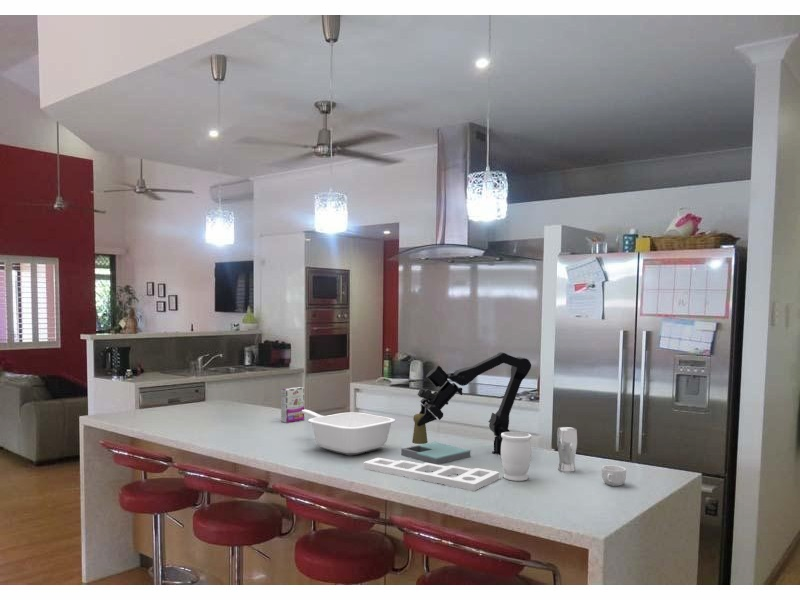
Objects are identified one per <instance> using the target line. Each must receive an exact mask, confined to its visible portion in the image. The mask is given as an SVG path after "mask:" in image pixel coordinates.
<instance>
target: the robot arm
mask: <svg viewBox="0 0 800 600" xmlns="http://www.w3.org/2000/svg"><path fill="white" fill-rule="evenodd" d="M502 364H506V365H508V366H510V367H511V368H510V379H509V381H508V384H507V386H506V390H505V392H504V394H503V398H502V400H501V403H500V405H499V407H498V410H497V411H496V413H494V412H491V415H490V418H489V420H488V421H487V422H488V423H489V424H488V426H489V430H490V431H491V432H492V433H493V435H494V440H493V450H492V451H491V454H495V453H496V454H495V455H499V454H500V456H501V443H502V439H503V438H502V437H501V433H503V432H511V431H510V429H509V425H510V414H511V411H512V408H513V405H514V403H515V400H516V397H517V394H518V391H519V389H520V387H521V384H522V381H523V380H524V379H525V378H526V377H527V376H528V374H529V372H530V370H531V369H532V364H531V361H530V360H529V359H528V358H525V357H521V356H518V357H515V356H512V355H510V354H508V353H506V352H500V351H499V352H497V354H495V355H493V356H491V357H489V358H487V359H485V360H482V361H481V362H478V363H476V364H474V365H472V366H466V367H462V368H459V369H456V370H454V371H453V372H452V373H451V372H450V373H447V372H446V371H444V370H443V368H442V367H441V366H440V365H437V366H435V367H434V368H432V369H431V370H430V371H429V372H428V373H427V374H426V375H425V378H427V379H428V380H429V382H430V383H432V385H433V386H434V387H436V388H438V387H439V389H438V391H436V390H435V391H434V392H432V390H431V389H429V388H422V387H420V388H419V390H418V392H417V396H418V397H420V398H422V399H421V400H420V401H419V402H420V411H419V413H418V414H424V415H423V416H422V418H421V419H420V420H419V422H418V423H417V425H418V426H421V425H424V424H425V425H426V424H428V423H430V422H433V421H436V420H441V419H443V417H444V412H443V411H442V409H443V408H444V407H445V406H447V405H449V402H450V400H451V399H452V398H453V397H455V395H456V394H457V393H458V395H460V396H463V387H464V386H467V385H468V384H469V383H471V382H472V381H474V380H475V379H476V378H477V377H478V376H480V375H481V374H483V373H486V372H488V371H490V370H492V369H494V368H496V367H498V366H500V365H502ZM450 381H451V382H452V383H451V382H450ZM458 385H459V386H463V387H459V386H458Z"/></svg>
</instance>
